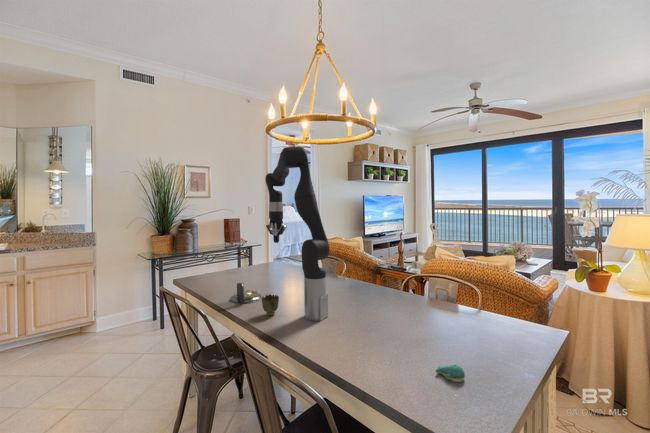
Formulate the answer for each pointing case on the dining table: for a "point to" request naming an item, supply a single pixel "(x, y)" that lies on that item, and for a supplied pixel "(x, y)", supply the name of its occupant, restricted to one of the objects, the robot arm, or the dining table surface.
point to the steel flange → (247, 299)
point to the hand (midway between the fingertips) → (276, 242)
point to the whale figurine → (452, 372)
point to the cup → (270, 304)
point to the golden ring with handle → (240, 293)
